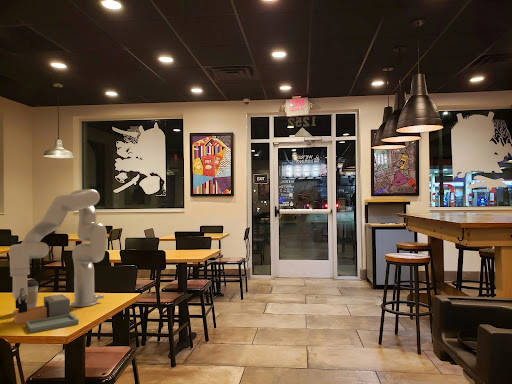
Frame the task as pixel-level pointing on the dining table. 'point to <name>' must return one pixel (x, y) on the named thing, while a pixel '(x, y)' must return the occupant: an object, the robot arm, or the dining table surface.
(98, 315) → the dining table surface
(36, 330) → the tray
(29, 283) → the coffee cup
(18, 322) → the orange drawer
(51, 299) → the bay housing
